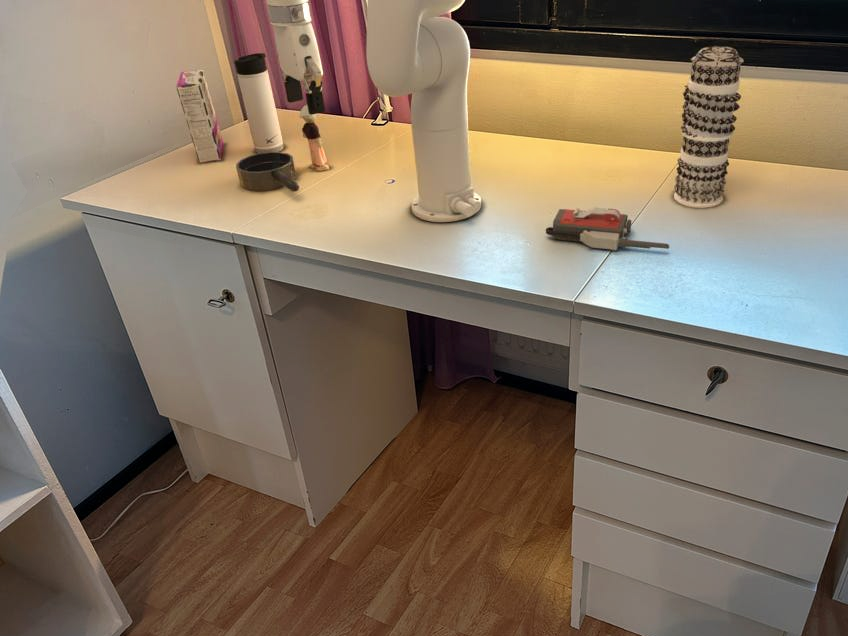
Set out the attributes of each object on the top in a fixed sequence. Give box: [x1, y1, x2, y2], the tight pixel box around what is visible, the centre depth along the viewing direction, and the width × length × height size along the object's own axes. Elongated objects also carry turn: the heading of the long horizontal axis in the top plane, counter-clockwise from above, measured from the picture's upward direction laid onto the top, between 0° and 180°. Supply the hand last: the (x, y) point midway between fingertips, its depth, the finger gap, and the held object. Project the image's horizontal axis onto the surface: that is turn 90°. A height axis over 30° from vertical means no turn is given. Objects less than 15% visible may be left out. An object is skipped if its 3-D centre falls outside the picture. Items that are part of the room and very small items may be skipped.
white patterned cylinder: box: [673, 45, 744, 209], centre depth 123 cm, size 9×9×25 cm
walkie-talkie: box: [545, 206, 670, 251], centre depth 118 cm, size 9×4×20 cm
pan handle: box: [273, 170, 300, 193], centre depth 139 cm, size 10×2×2 cm, turn 36°
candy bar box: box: [175, 69, 224, 164], centre depth 156 cm, size 11×5×16 cm, turn 13°
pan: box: [235, 151, 297, 192], centre depth 146 cm, size 11×11×4 cm
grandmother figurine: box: [298, 104, 330, 172], centre depth 148 cm, size 8×4×13 cm, turn 47°
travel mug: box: [234, 52, 285, 154], centre depth 156 cm, size 6×7×20 cm
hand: (306, 106), depth 145 cm, fingers open, 9 cm apart
